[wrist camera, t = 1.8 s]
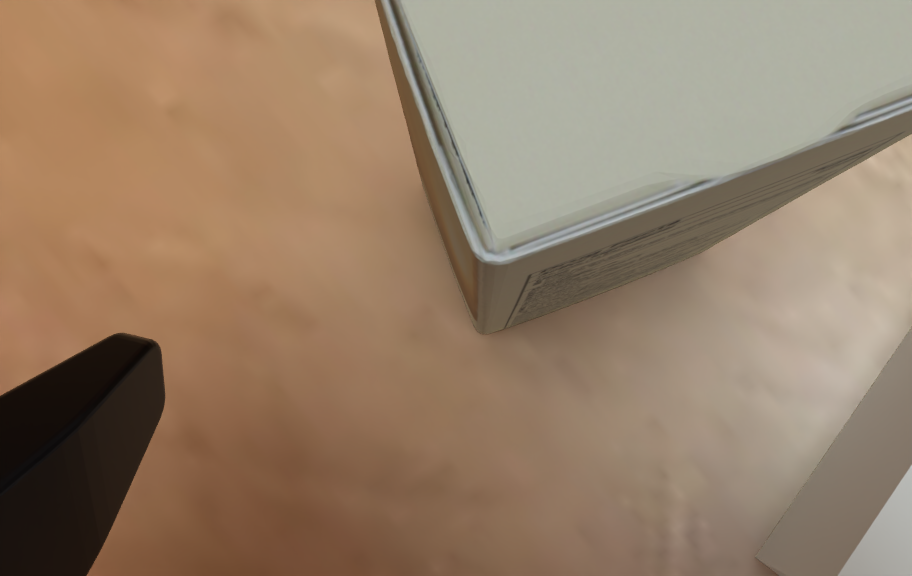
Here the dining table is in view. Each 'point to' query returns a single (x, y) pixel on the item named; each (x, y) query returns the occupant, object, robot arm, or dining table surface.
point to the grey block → (857, 491)
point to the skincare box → (631, 128)
